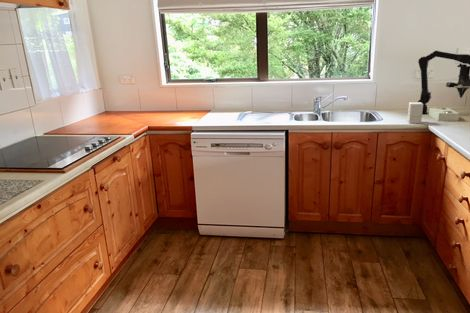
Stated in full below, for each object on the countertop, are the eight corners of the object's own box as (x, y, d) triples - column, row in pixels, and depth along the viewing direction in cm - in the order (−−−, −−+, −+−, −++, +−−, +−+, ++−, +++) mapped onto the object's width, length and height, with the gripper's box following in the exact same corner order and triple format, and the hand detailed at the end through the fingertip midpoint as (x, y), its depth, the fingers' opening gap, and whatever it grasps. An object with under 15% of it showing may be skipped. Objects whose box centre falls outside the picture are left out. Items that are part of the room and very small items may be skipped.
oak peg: (439, 115, 250) (440, 108, 249) (437, 114, 254) (438, 107, 253) (445, 115, 250) (446, 108, 248) (443, 114, 253) (444, 107, 252)
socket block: (438, 120, 238) (439, 113, 237) (428, 114, 257) (429, 107, 256) (458, 120, 236) (459, 113, 235) (447, 114, 255) (448, 107, 253)
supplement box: (418, 121, 239) (421, 102, 235) (421, 123, 232) (423, 104, 229) (406, 121, 241) (408, 102, 237) (408, 123, 234) (410, 103, 231)
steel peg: (445, 119, 239) (446, 112, 238) (443, 118, 243) (444, 111, 241) (452, 119, 238) (453, 112, 237) (449, 118, 242) (450, 111, 241)
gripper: (452, 75, 236) (449, 99, 241) (485, 74, 232) (481, 99, 237) (447, 73, 247) (444, 97, 251) (478, 73, 243) (474, 96, 247)
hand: (460, 97), depth 246 cm, fingers closed
